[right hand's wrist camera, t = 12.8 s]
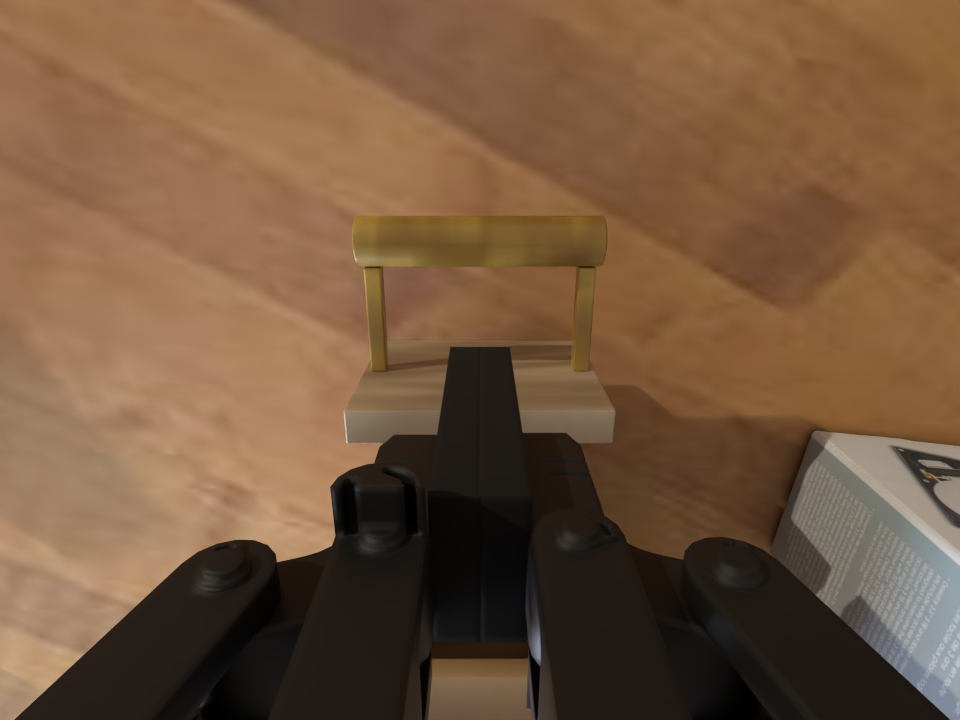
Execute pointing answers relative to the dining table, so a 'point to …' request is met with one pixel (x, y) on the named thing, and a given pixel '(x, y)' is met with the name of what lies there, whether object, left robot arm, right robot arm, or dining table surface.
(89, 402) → the dining table surface
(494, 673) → the cabinet
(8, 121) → the dining table surface
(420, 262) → the drawer
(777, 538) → the hard drive box
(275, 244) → the dining table surface
